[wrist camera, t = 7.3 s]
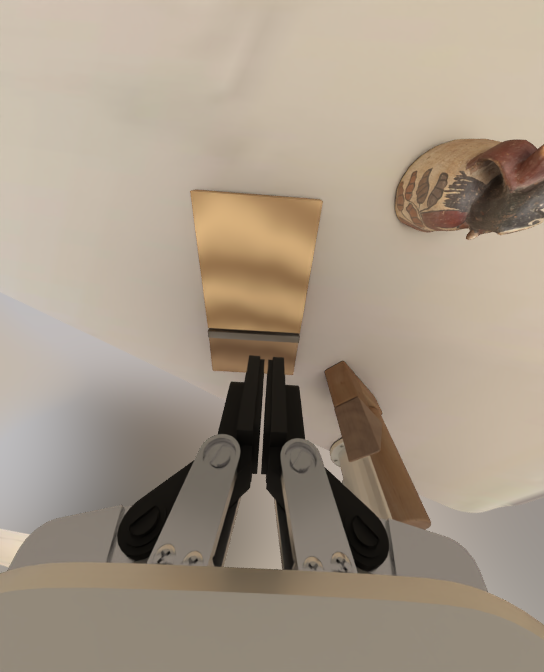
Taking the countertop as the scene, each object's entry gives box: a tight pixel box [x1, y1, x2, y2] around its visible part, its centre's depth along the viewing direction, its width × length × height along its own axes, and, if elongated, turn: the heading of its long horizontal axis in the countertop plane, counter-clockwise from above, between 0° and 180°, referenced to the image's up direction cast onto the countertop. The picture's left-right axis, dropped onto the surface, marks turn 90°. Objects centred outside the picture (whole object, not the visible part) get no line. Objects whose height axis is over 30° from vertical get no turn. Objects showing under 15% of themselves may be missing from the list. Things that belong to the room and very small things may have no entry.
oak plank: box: [190, 190, 323, 333], centre depth 25 cm, size 15×12×2 cm
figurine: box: [395, 139, 544, 240], centre depth 17 cm, size 7×7×12 cm
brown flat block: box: [208, 328, 300, 375], centre depth 32 cm, size 7×12×2 cm, turn 86°
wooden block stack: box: [325, 361, 431, 530], centre depth 30 cm, size 4×11×18 cm, turn 40°
